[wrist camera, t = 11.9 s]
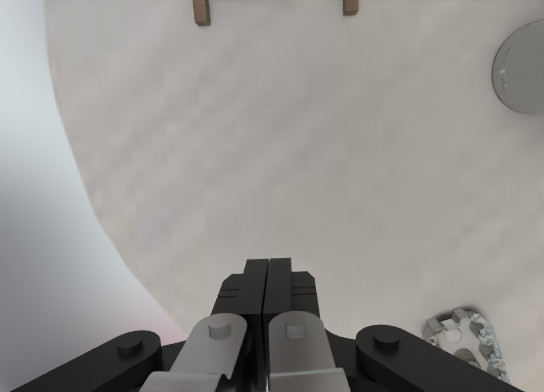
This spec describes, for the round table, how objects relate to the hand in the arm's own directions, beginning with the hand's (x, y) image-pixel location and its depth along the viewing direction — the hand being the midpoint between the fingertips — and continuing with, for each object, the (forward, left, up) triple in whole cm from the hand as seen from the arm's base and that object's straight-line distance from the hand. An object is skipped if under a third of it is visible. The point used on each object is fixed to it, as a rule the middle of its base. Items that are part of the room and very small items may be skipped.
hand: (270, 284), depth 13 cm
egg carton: (-21, +25, -31) cm, 45 cm away
